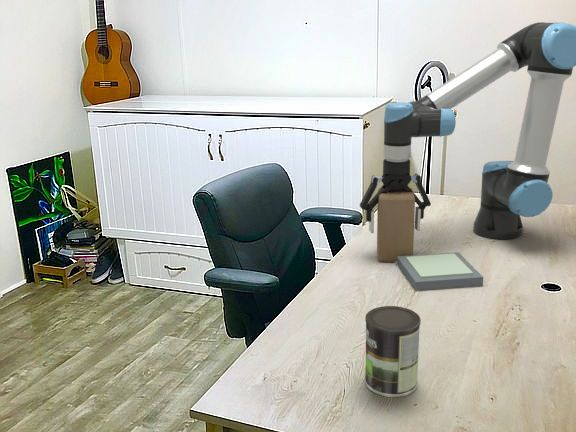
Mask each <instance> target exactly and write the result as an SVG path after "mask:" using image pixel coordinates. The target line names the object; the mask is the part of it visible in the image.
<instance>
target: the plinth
mask: <svg viewBox="0 0 576 432" xmlns="http://www.w3.org/2000/svg"><path fill="white" fill-rule="evenodd" d="M396 266H397V267H398V269H399V270H400V271H401V273H402V274H403V276H404V277H405V278H406V279H407V282H409V284H410V285H411V287H412V288H413V290H414V291H415V292H419V291H432V290H433V291H435V290H442V289H445V290H446V289H448V290H449V289H457V288H458V289H461V288H471V287H483V286H484V276H483V275H482V274H481V273H480V272H479V271H478V270H477V269H476V268H475V266H473V265H472V264H471V263H470V262H469V261H468V260H467V259H466V258H465V257H464V256H463V255H462V254H461V253H460V252H458V251H457V252H444V253H443V252H441V253H429V254H428V253H426V254H413V255H410V256H397V262H396Z"/></svg>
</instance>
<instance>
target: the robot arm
mask: <svg viewBox="0 0 576 432" xmlns="http://www.w3.org/2000/svg"><path fill="white" fill-rule="evenodd" d="M524 67H525V68H526V67H527V70H526V72H527V73H528V74H529V75H528V76H530V84H529V88H528V93H527V98H526V103H525V107H524V108H525V109H524V112H523V117H522V123H521V127H520V132H519V137H518V142H517V147H516V152H515V156H514V160H493V161H492V160H491V161H487V162H486V163H484V165H483V167H482V172H481V176H482V177H481V191H480V207H479V210H478V211H477V214H476V217H475V218H474V219H475V220H474V221H473V227H472V229H473V233H475V234H476V235H478V236H481V237H483V238H488V239H495V240H513V239H516V238H517V239H518V238H519V237H521V236H522V235H523V234H524V233H523V232H524V230H523V229H524V225H523V221H522V217H525V218H533V217H537V216H539V215H541V214H542V213H543V212H545V211H546V210H547V209H548V208H549V207H550V205H551V203H552V200H553V196H554V195H553V190H552V187H551V186H550V184H549V178H550V170H549V169H548V167H547V166H546V165H547V161H548V157H549V151H550V146H551V143H552V142H551V141H552V138H553V133H554V128H555V124H556V119H557V115H558V110H559V107H560V106H559V105H560V101H561V97H562V92H563V87H564V82H565V81H566V80H567V79H569V78H571V77H572V74H573V70H574V68H575V67H576V26H575V25H574V24H572V23H571V24H570V23H566V22H536V23H535V22H534V23H532V24H528V25H526V26H524V27H523V28H522V29H519V30H518V31H516V32H515V33H513V34H512V35H510V36H508V37H507V38H506V39H504V40H502V41H501V42H500V43H498V44H497V47H496V49H495V50H494V51H492V52H491V53H489V54H487V55H486V56H484V57H483V58H481V59H480V60H478V61H477V62H475V63H473V64H471V66H469V67H468V68H465V70H463V71H461V72H460V73H458V74H456V75H455V76H454V77H452V78H450V79H449V80H448V81H446V82H444V83H443V84H442V85H440V86H438V87H437V88H435V89H434V90H432V91H431V92H428V93H427V94H426V95H424V96H423V97H421V98H419V99H418V100H413V101H408V102H400V101H399V102H389V103H388V104H386V106H385V108H384V118H383V122H384V123H383V126H384V127H383V133H384V134H383V136H384V137H383V156H382V157H383V158H384V159H383V161H382V162H383V163H382V176H375V175H371V179H370V180H371V181H370V183H369V186H368V188H367V190H366V191H365V194H364V195H363V197H362V199H361V202H360V203H359V208H361V210H362V211H364V210H365V220H366V222H368V231H369V233H370V234H374V233H375V210H374V208H375V207H377V206H378V202H379V195H380V194H382V193H386V194H387V193H388V192H389V191H391V192H395V191H398V192H402V191H403V190H404V189H405V190H406V191H407V192H413V194H414V197H415V204H417V206H415V217H414V230H416V231H417V232H419V231H421V220H422V219H424V218H425V217H424V216H425V212H424V211H425V210H426V208H427V207H430V206H431V205H432V204H431V200H430V198H429V197H428V194H427V192H426V189H425V188H424V186H423V184H422V176H421V175H420V174H418V173H415V174H414V175H413V174H412V175H411V160H410V159H411V158H412V157H411V156H412V155H411V154H412V152H411V151H412V138H428V137H430V138H431V137H440V138H441V137H445V136H446V137H447V136H451V135H453V133H454V132H455V130H456V129H455V128H456V125H457V124H456V122H457V121H456V116H455V112H454V111H453V110H452V109H453V108H455V107H457V106H458V105H459V104H461V103H463V102H464V101H466V100H468V99H469V98H471V97H472V96H474V95H476V94H477V93H478V92H480V91H481V90H483V89H485V88H487V87H488V86H489V85H491V84H492V83H494V82H496V81H497V80H499V79H500V78H502V77H504V76H505V75H506V74H508V73H509V72H513V73H515V72H517V71H519V70H521V69H522V68H524ZM381 182H382V184H383V185H382V186H381V187H380V190H379V191H378V190H377V192H376V194H375V195H374V196H373V194H374V193H375V190H376V189H377V186H379V184H380V183H381ZM411 182H413V183H414V184H415V186H416V188H417V190H418V192H419V195H420V197H421V199H422V201H421V200H420V199H419V197H418V196H417V195H416V194H415V192H414V191H413V189H412V190H411V189H410V188H411V187H410V186H409V184H410V183H411ZM372 197H373V198H372Z"/></svg>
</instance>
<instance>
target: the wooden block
mask: <svg viewBox="0 0 576 432" xmlns="http://www.w3.org/2000/svg"><path fill="white" fill-rule="evenodd" d="M380 188H381V187H380ZM380 188H378V189H377V192H378V191H379V190H380ZM409 188H410V189H411V190H412V191H413V189H412V188H411V187H409ZM413 193H414V191H413V192H407V191H406V190H405V189H404V190H403V191H402V192H398V191H395V192H391V191H389V192H388V193H387V194H386V193H382V194H380V195H379V202H378V203H377V217H376V221H377V226H376V253H377V260H378V262H381V263H384V262H385V263H390V262H391V263H397V256H410V255H414V246H415V244H414V242H415V241H414V239H415V207H416V202H415V197H414V194H415V193H414V194H413Z"/></svg>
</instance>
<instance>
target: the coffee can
mask: <svg viewBox="0 0 576 432" xmlns="http://www.w3.org/2000/svg"><path fill="white" fill-rule="evenodd" d="M364 321H365V369H364V370H365V375H364V376H365V377H364V384H365V386H366V387H367V388H368V390H369V391H371V392H372V393H374V394H376V395H379V396H382V397H387V398H401V397H405V396H409V395H410V394H412V393H413V392H415V391H416V389H417V388H418V386H419V385H418V374H419V372H418V370H419V369H418V368H419V351H420V350H419V348H420V328H421V327H420V326H421V321H422V320H421V317H420V315H419V314H418V313H417V312H415V311H414V310H412V309H409V308H407V307H404V306H398V305H397V306H396V305H384V306H383V305H382V306H379V307H375V308H372V309H370V310H369V311H368V312H367V313H366V314H365V320H364Z"/></svg>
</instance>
